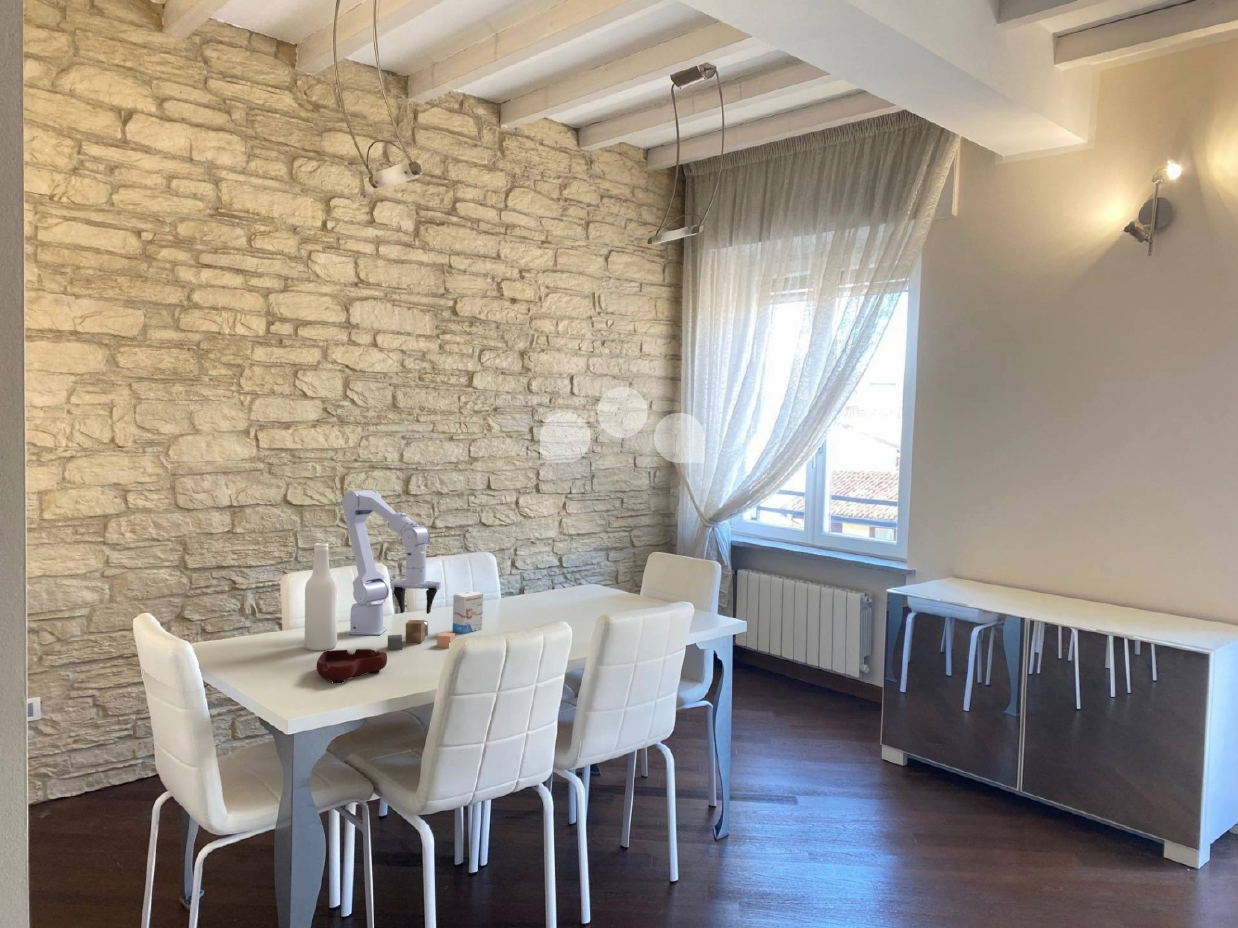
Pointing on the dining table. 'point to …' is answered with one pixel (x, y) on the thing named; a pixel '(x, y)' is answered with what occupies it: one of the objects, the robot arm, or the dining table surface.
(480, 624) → the ink box
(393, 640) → the charcoal rubber block
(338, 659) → the ashtray
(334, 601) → the white bottle
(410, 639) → the walnut block
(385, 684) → the dining table surface
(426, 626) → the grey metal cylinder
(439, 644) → the terracotta block
